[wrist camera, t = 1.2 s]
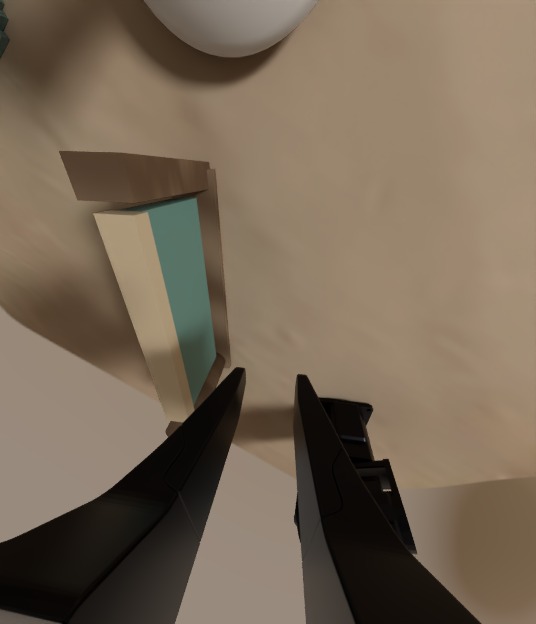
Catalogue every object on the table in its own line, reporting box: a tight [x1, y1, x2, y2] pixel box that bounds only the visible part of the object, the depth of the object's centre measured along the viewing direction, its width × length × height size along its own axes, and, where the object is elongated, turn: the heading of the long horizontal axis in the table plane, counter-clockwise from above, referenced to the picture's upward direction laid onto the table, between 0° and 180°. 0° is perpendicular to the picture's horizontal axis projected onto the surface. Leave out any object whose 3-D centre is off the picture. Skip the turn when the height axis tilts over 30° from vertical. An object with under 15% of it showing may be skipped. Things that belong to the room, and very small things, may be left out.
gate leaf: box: [93, 197, 216, 422], centre depth 16 cm, size 15×2×7 cm, turn 178°
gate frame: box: [59, 151, 231, 437], centre depth 17 cm, size 19×3×9 cm, turn 178°
